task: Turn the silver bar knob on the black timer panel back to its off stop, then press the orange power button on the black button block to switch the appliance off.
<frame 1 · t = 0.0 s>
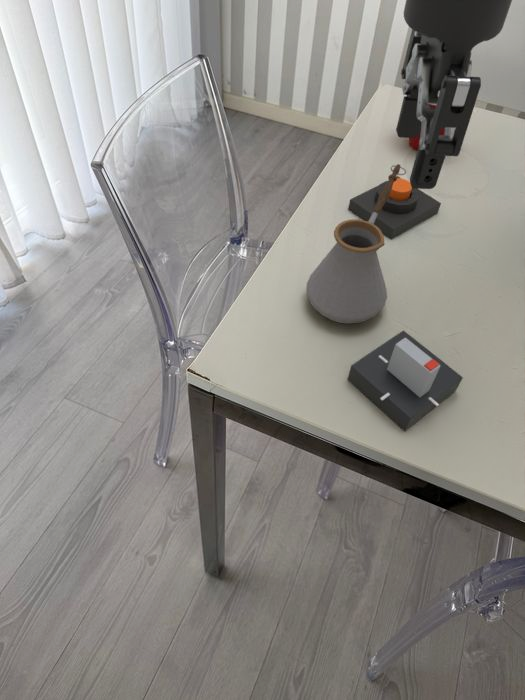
hand: (413, 159, 52), 30 cm above the table, tool pointing down, fingers open, 8 cm apart
plastic cup: (422, 147, 112), on the table
coffee pot: (355, 285, 86), on the table
timer panel: (401, 385, 74), on the table
timer knob: (412, 367, 69), point 6 cm above the table, hinge at 90.0°
power button: (398, 189, 94), point 5 cm above the table, slide at 0.2 cm
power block: (392, 211, 98), on the table
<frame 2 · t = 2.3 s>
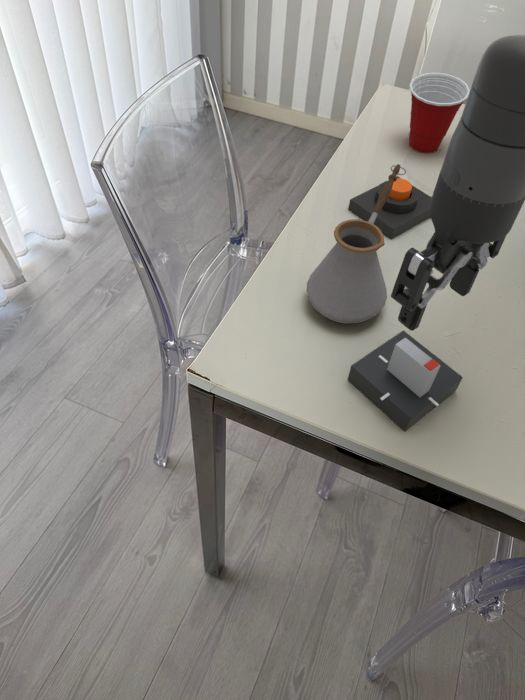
hand: (433, 307, 61), 16 cm above the table, tool pointing down, fingers open, 8 cm apart
nothing on the table moved.
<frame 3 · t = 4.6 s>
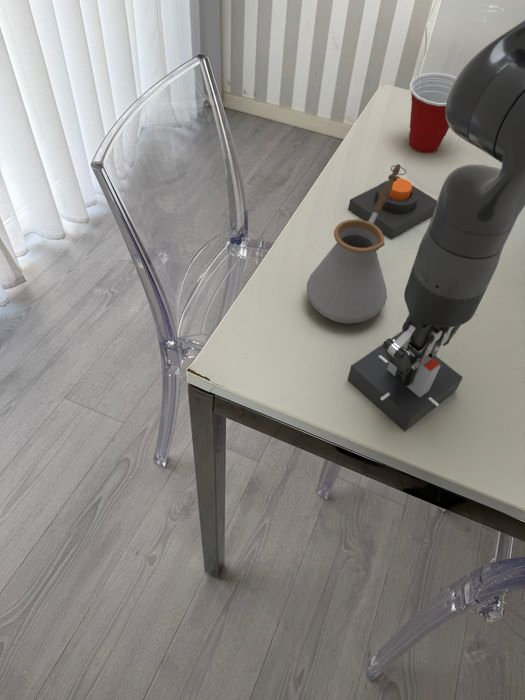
hand: (409, 375, 70), 4 cm above the table, tool pointing down, fingers closed on timer knob, 2 cm apart
timer knob: (412, 367, 69), point 6 cm above the table, hinge at 90.0°, touching gripper
everything else where it was.
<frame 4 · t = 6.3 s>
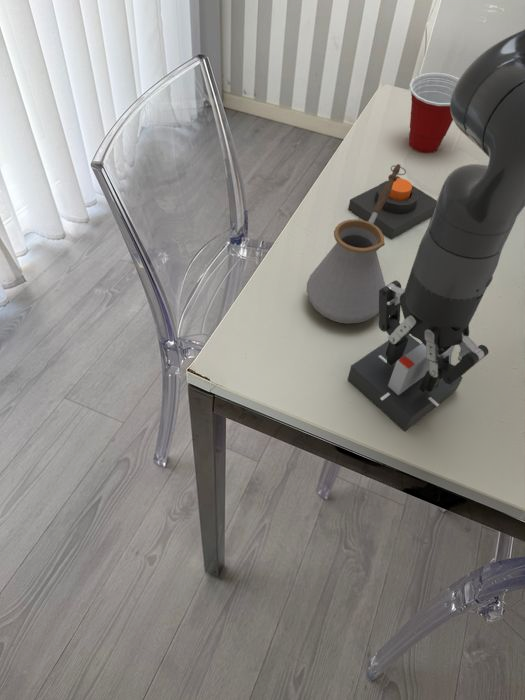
hand: (410, 373, 70), 4 cm above the table, tool pointing down, fingers open, 4 cm apart
timer knob: (412, 367, 69), point 6 cm above the table, hinge at -0.1°
everything else where it was.
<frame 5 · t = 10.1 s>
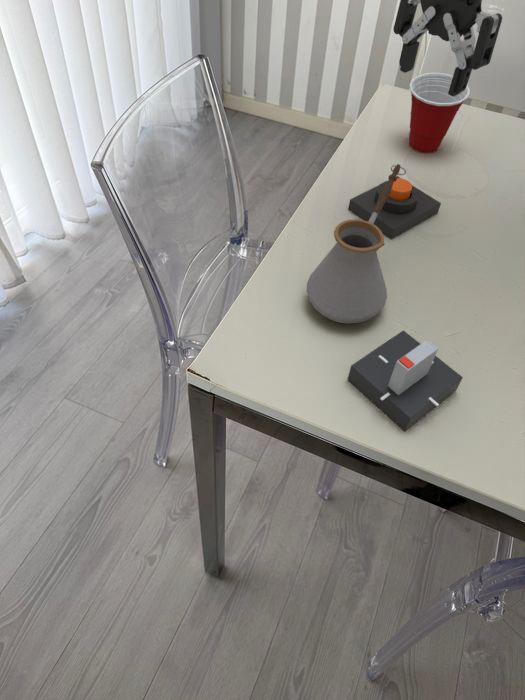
hand: (429, 82, 79), 23 cm above the table, tool pointing down, fingers open, 8 cm apart
nothing on the table moved.
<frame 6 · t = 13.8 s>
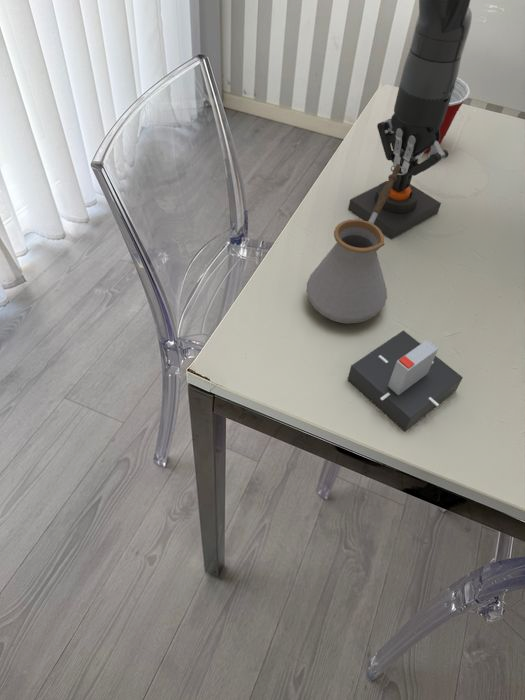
hand: (398, 188, 94), 5 cm above the table, tool pointing down, fingers closed
power button: (397, 192, 95), point 4 cm above the table, slide at -0.5 cm, touching gripper
everything else where it was.
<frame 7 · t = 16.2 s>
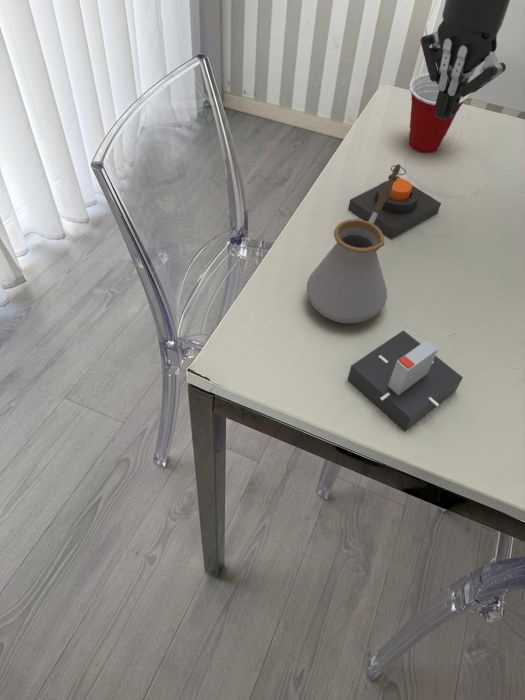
hand: (443, 116, 82), 19 cm above the table, tool pointing down, fingers closed
power button: (398, 189, 94), point 5 cm above the table, slide at 0.1 cm
everything else where it was.
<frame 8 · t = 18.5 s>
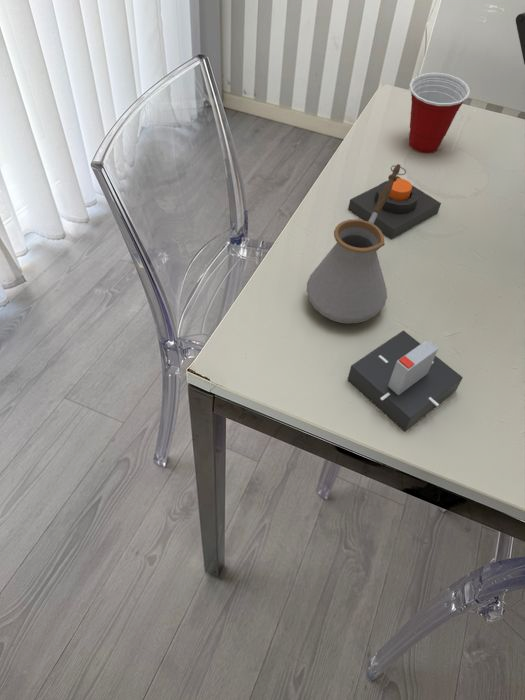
nothing on the table moved.
at the end: timer knob at +0° (first picture: +90°); power button pushed in 1.1 cm at the most during the clip, back to where it started at the end; power button slide at 0.1 cm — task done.
